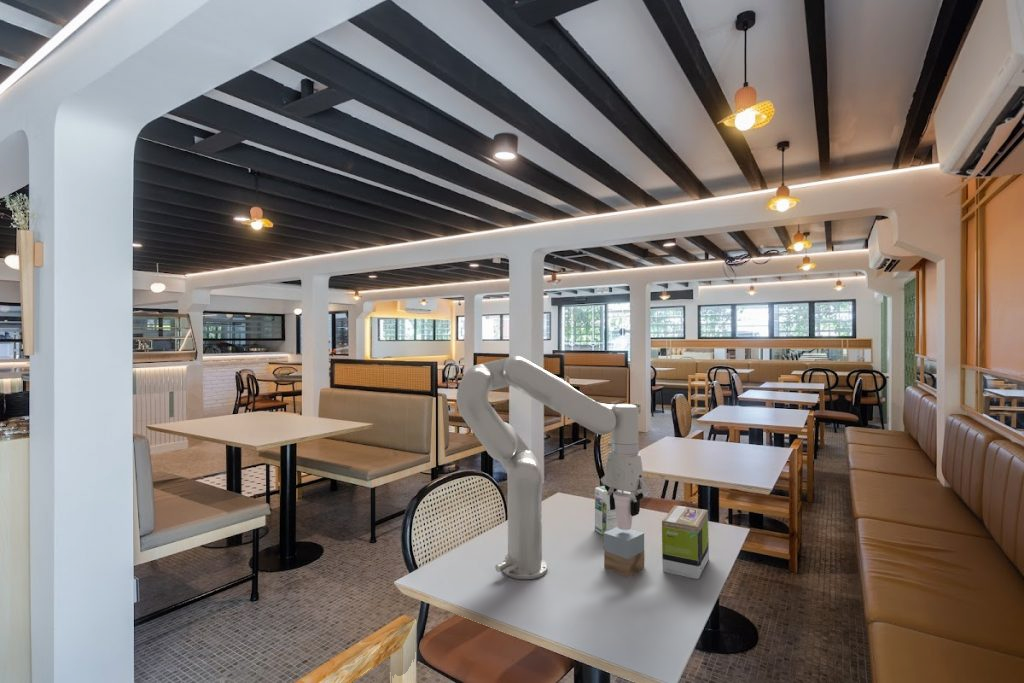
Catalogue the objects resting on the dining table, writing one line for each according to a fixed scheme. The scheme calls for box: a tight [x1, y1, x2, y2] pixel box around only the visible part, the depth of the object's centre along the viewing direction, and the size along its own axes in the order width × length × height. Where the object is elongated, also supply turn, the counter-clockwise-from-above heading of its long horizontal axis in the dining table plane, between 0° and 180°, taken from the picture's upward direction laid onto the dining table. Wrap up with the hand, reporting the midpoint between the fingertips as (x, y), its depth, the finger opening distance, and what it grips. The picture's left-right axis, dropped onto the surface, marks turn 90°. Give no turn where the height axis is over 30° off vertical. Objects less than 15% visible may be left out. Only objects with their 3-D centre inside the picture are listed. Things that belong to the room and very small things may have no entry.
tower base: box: [603, 550, 645, 578], centre depth 147 cm, size 8×8×5 cm
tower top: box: [603, 527, 645, 559], centre depth 147 cm, size 8×8×5 cm
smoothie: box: [613, 490, 634, 530], centre depth 147 cm, size 6×6×14 cm
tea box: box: [661, 504, 710, 580], centre depth 148 cm, size 15×10×15 cm, turn 149°
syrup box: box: [594, 485, 618, 537], centre depth 173 cm, size 6×6×14 cm
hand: (624, 511), depth 147 cm, fingers closed on smoothie, 6 cm apart
